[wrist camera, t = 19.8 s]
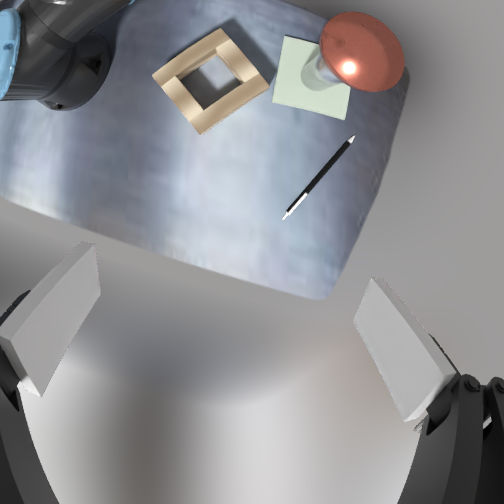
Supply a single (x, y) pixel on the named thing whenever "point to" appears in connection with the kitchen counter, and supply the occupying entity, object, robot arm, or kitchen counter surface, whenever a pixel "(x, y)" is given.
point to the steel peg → (355, 55)
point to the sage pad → (295, 92)
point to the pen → (318, 177)
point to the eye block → (195, 58)
